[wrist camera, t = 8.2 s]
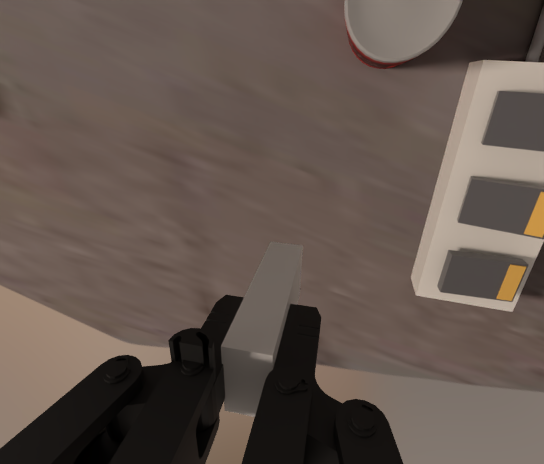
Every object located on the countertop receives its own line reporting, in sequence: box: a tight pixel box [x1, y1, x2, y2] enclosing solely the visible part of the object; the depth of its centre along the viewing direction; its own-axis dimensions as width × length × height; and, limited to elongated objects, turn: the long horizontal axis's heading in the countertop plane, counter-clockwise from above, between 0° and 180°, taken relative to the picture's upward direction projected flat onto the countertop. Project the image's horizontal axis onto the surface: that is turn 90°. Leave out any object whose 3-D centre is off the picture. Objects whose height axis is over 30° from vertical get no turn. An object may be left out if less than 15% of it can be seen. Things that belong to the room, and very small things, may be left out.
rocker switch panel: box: [411, 6, 544, 312], centre depth 33 cm, size 30×10×4 cm, turn 177°
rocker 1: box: [481, 91, 544, 152], centre depth 28 cm, size 4×7×1 cm, turn 87°
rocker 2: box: [437, 250, 529, 302], centre depth 34 cm, size 4×7×1 cm, turn 87°
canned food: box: [344, 0, 463, 69], centre depth 27 cm, size 8×8×11 cm
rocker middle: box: [457, 176, 544, 239], centre depth 31 cm, size 4×7×1 cm, turn 87°
